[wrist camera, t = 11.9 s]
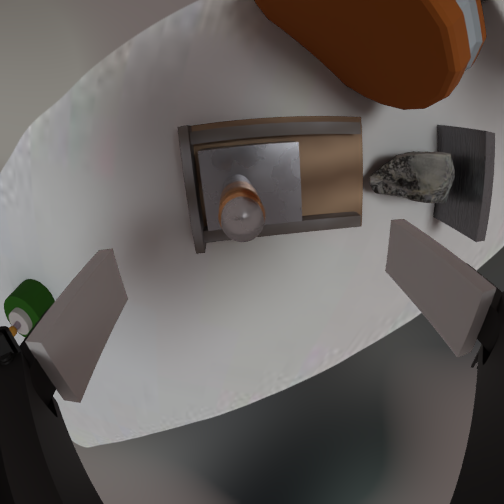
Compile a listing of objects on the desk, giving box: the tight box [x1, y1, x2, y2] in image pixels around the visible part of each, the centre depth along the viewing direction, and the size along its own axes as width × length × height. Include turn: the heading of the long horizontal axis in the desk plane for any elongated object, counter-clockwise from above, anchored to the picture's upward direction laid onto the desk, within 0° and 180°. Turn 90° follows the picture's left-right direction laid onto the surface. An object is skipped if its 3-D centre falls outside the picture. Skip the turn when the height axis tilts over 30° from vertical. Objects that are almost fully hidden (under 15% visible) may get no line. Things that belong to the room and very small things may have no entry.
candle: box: [4, 279, 55, 337], centre depth 33 cm, size 8×8×10 cm
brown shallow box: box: [178, 116, 363, 254], centre depth 32 cm, size 14×21×4 cm, turn 95°
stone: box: [370, 151, 455, 203], centre depth 31 cm, size 10×10×10 cm
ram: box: [198, 141, 302, 242], centre depth 25 cm, size 8×10×15 cm
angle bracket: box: [433, 125, 495, 242], centre depth 30 cm, size 14×5×10 cm, turn 5°
